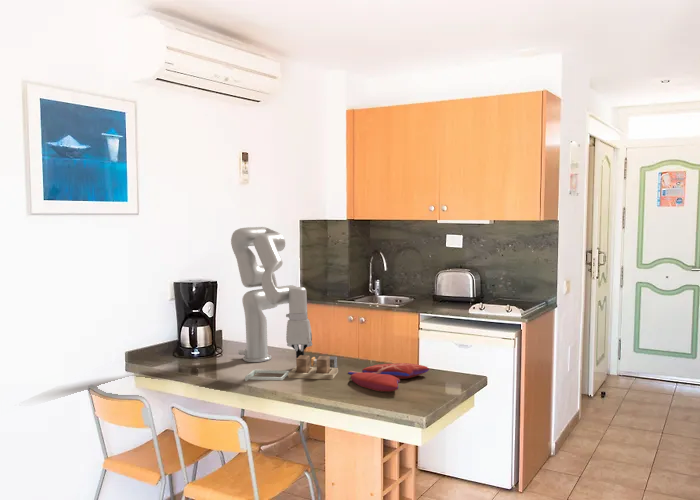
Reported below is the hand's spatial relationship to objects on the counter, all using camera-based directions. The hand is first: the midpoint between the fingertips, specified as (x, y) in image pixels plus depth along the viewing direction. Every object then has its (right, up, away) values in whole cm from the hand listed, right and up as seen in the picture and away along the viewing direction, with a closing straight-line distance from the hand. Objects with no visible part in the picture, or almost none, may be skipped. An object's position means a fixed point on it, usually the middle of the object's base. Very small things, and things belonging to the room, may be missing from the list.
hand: (300, 360), depth 254 cm
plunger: (+7, -2, -1) cm, 8 cm away
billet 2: (+10, -4, -12) cm, 16 cm away
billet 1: (+2, -4, -10) cm, 11 cm away
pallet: (+6, -5, -11) cm, 13 cm away
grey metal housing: (+12, -4, -2) cm, 13 cm away
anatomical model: (+32, -6, -17) cm, 37 cm away
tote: (-12, -6, -11) cm, 18 cm away
